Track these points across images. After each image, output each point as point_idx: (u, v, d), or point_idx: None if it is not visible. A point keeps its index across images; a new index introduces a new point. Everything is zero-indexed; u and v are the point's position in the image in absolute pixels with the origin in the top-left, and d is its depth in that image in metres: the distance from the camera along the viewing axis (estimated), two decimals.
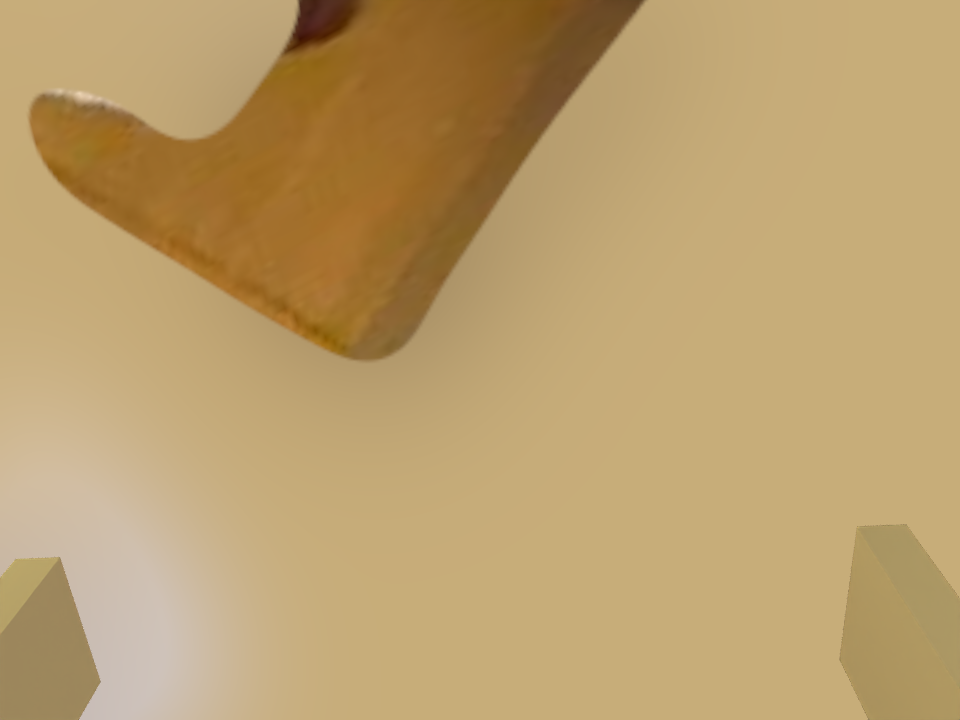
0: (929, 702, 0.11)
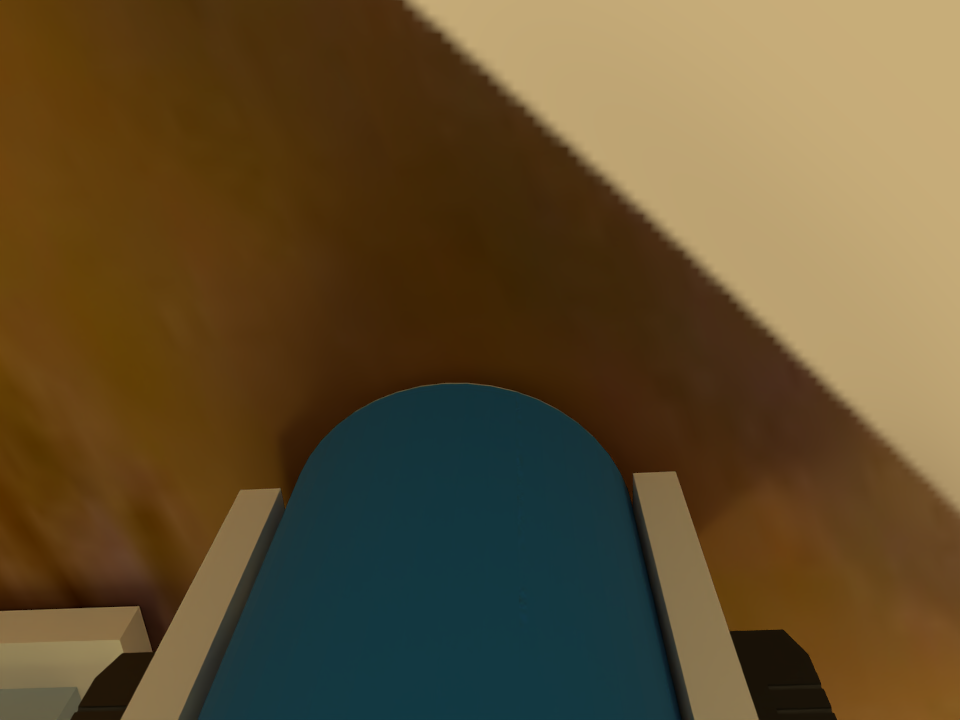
0: None
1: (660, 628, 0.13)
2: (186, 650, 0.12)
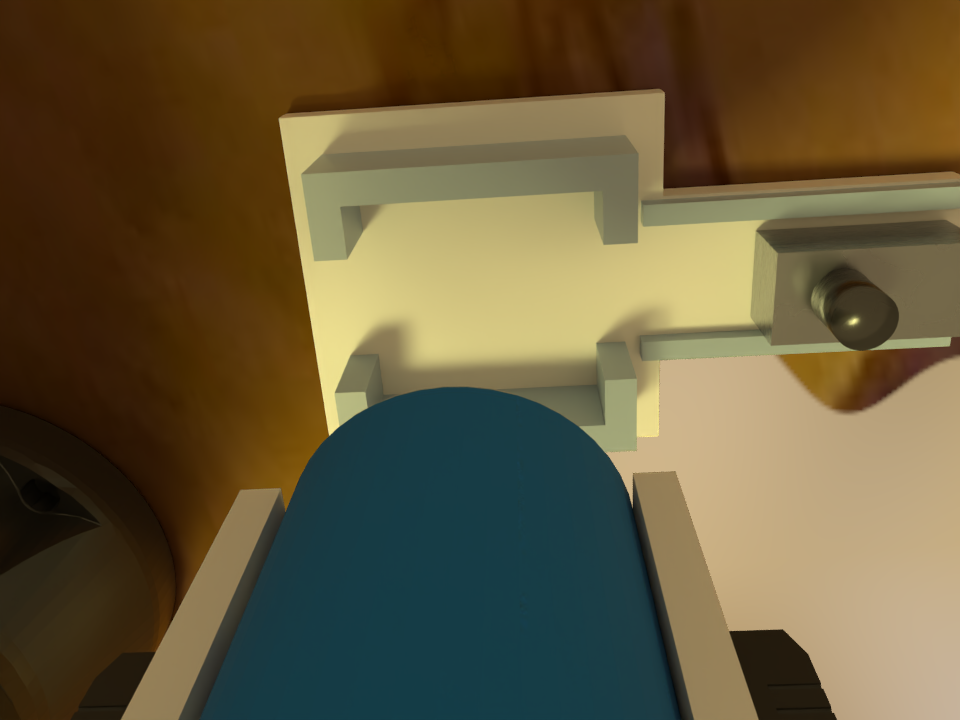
0: None
1: None
2: (187, 650, 0.12)
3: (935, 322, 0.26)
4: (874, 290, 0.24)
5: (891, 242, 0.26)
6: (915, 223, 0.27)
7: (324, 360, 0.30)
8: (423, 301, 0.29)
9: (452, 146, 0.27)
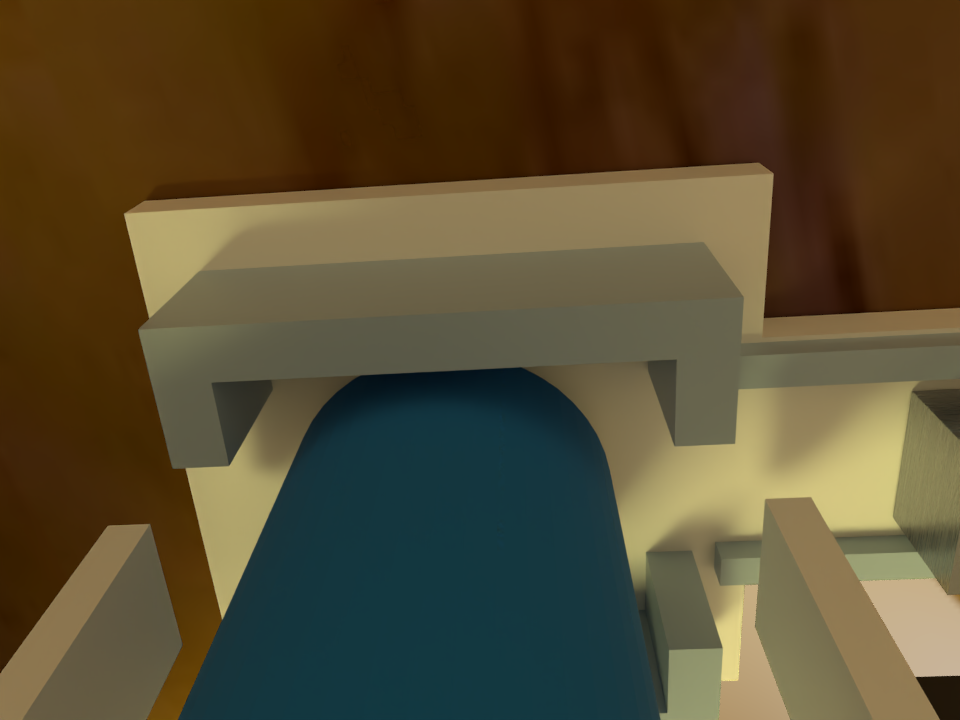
0: (815, 658, 0.12)
1: (629, 568, 0.14)
2: (5, 709, 0.11)
3: None
4: None
5: None
6: None
7: (222, 573, 0.20)
8: None
9: (414, 259, 0.16)
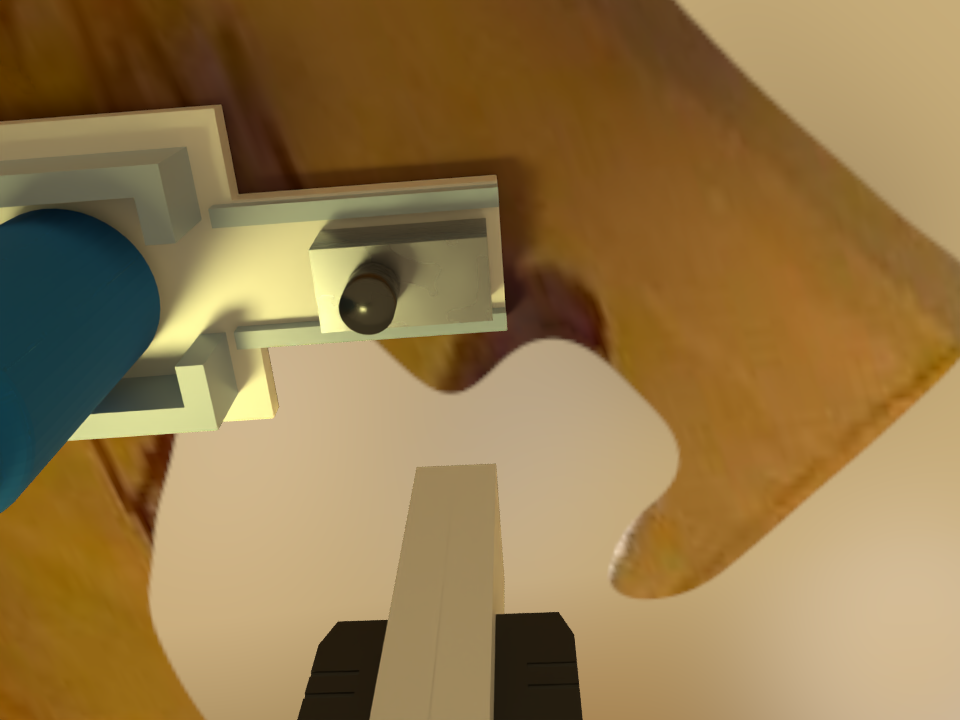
0: None
1: (118, 305, 0.28)
2: (418, 616, 0.12)
3: (461, 309, 0.30)
4: (368, 281, 0.27)
5: (413, 238, 0.29)
6: (457, 221, 0.31)
7: None
8: None
9: (31, 158, 0.30)
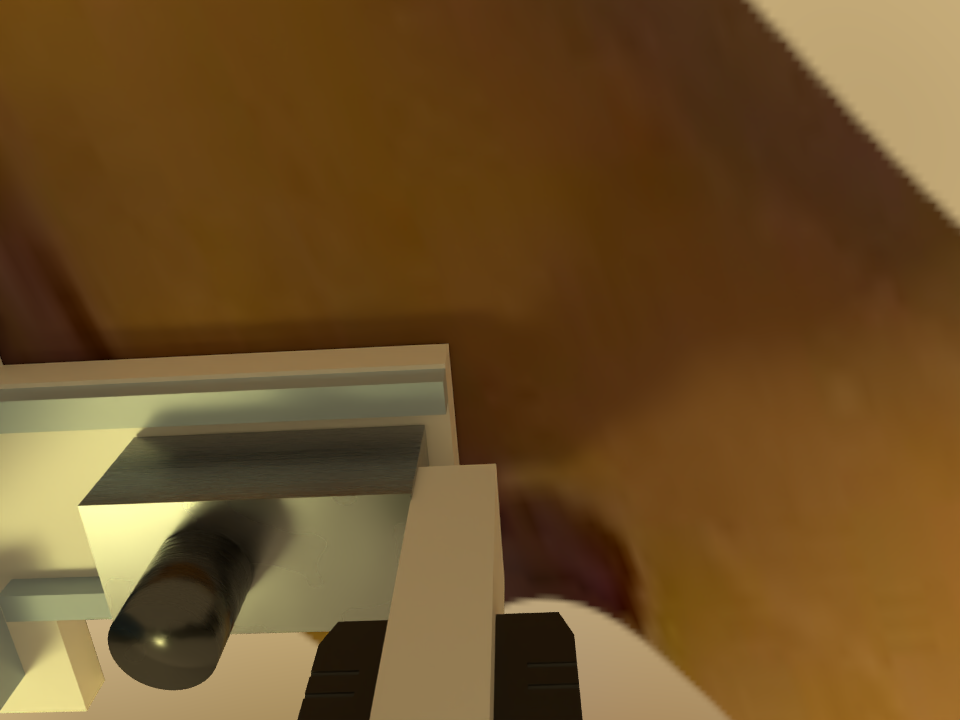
0: None
1: None
2: (418, 617, 0.12)
3: (368, 609, 0.16)
4: (163, 600, 0.14)
5: (276, 484, 0.15)
6: (372, 431, 0.17)
7: None
8: None
9: None
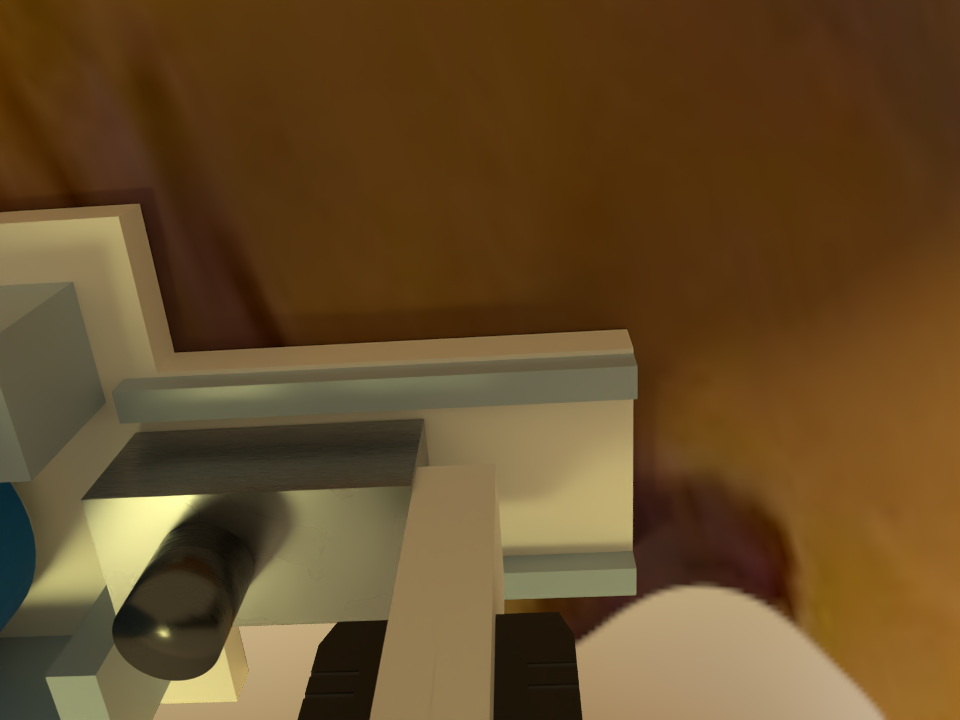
0: None
1: None
2: (418, 616, 0.12)
3: (369, 601, 0.16)
4: (167, 592, 0.14)
5: (278, 478, 0.16)
6: (372, 426, 0.17)
7: None
8: None
9: None
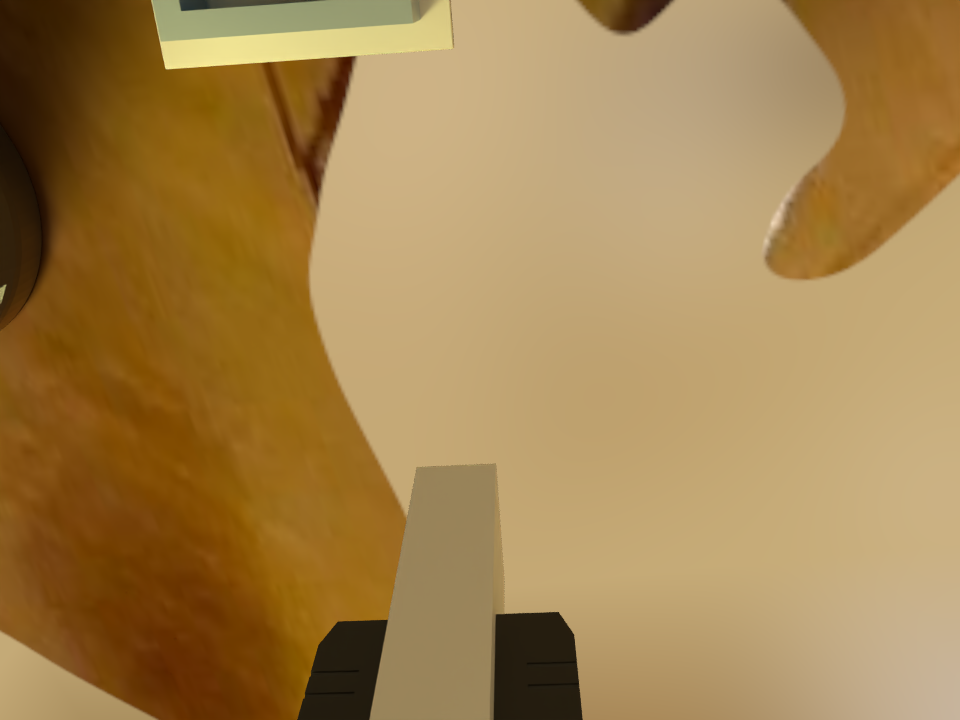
0: None
1: None
2: (418, 617, 0.12)
3: None
4: None
5: None
6: None
7: None
8: None
9: None
